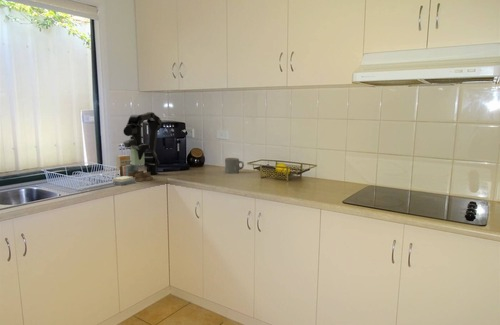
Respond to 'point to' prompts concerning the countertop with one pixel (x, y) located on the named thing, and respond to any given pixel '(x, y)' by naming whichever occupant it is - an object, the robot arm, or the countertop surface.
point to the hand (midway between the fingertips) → (137, 159)
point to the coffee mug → (232, 165)
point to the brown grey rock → (134, 173)
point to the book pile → (123, 180)
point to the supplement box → (122, 161)
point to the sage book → (136, 157)
